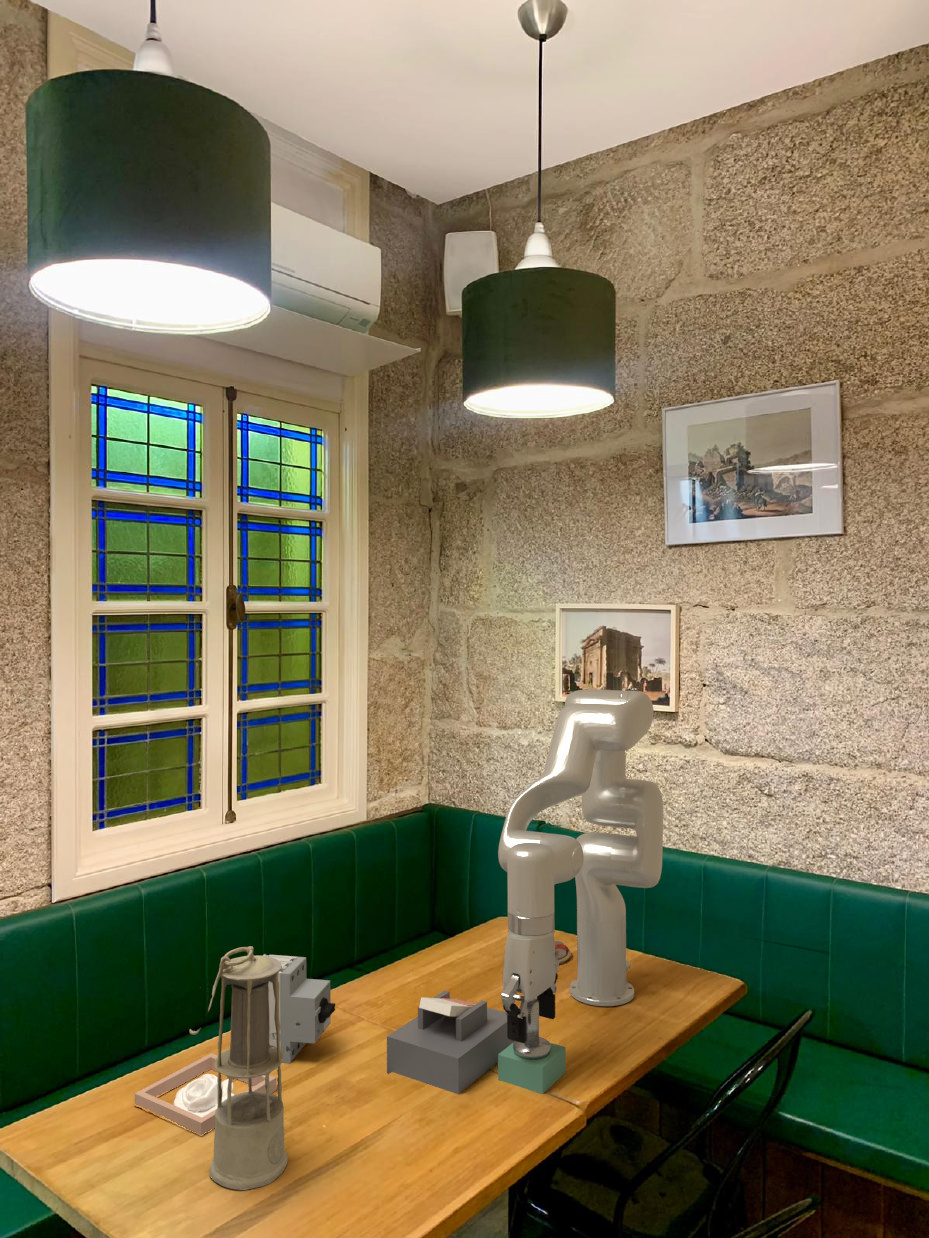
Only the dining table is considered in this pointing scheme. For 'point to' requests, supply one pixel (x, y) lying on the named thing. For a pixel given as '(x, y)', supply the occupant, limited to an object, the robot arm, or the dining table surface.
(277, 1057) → the lamp
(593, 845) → the robot arm
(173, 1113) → the pink square frame
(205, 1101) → the rose
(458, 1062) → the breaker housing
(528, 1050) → the metal knob
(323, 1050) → the dining table surface
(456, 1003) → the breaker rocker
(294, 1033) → the circuit breaker
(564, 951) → the toy sandwich meal
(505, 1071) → the stylus holder
